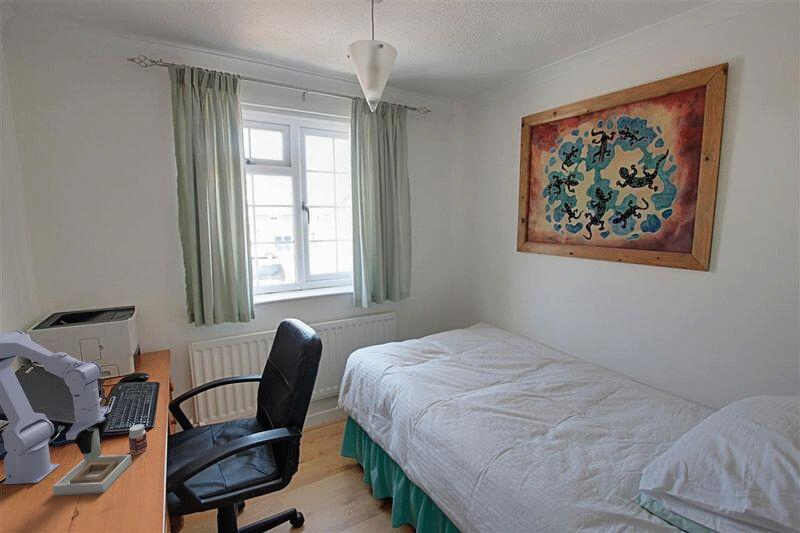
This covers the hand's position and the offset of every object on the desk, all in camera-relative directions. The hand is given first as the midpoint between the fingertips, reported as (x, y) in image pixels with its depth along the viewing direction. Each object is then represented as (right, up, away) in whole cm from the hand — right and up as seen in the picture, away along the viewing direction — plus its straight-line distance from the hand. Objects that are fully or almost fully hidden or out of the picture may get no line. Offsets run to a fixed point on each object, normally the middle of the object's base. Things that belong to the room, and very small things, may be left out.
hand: (91, 448), depth 111 cm
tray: (0, -10, +1) cm, 10 cm away
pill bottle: (+4, -8, +15) cm, 17 cm away
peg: (0, -3, 0) cm, 3 cm away
